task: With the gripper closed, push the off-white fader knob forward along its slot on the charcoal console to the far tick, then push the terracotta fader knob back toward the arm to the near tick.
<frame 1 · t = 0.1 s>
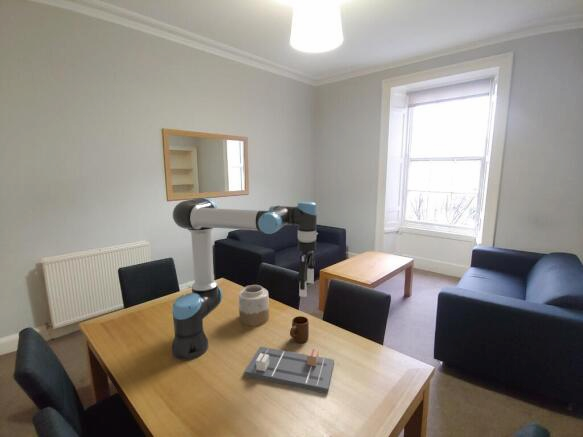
hand: (306, 289, 122), 28 cm above the table, fingers open, 13 cm apart
console: (290, 369, 115), on the table
fader a: (262, 361, 113), point 4 cm above the table, slide at 2.0 cm
vase: (254, 319, 153), on the table
fader b: (312, 357, 116), point 4 cm above the table, slide at 20.0 cm
mug: (297, 341, 133), on the table
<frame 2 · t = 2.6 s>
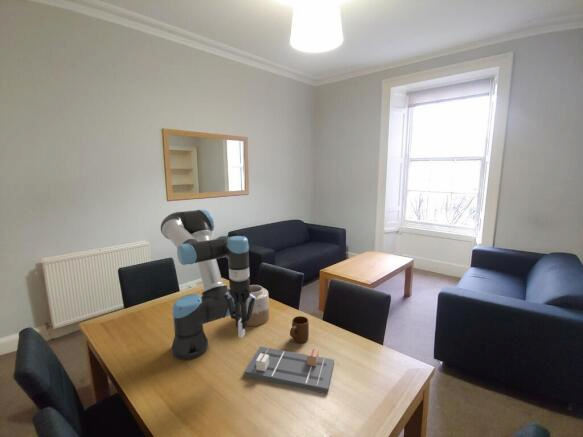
hand: (241, 335, 113), 14 cm above the table, fingers closed
nothing on the table moved.
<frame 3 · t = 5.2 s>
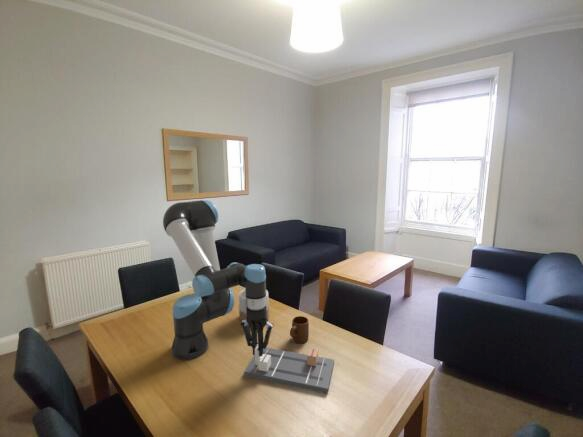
hand: (258, 362, 113), 4 cm above the table, fingers closed
fader a: (264, 362, 113), point 4 cm above the table, slide at 2.8 cm, touching gripper
everything else where it was.
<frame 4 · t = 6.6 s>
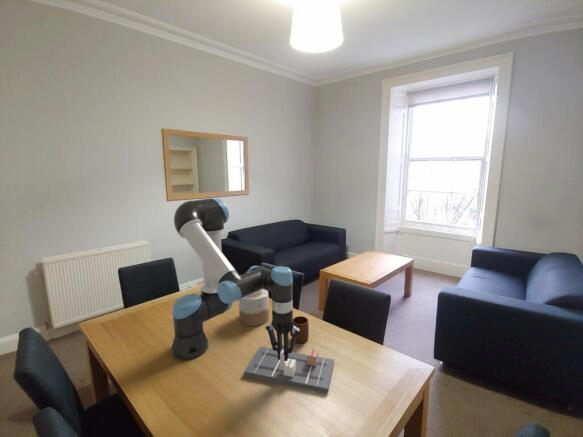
hand: (283, 367, 110), 4 cm above the table, fingers closed
fader a: (289, 367, 110), point 4 cm above the table, slide at 12.9 cm, touching gripper
everything else where it was.
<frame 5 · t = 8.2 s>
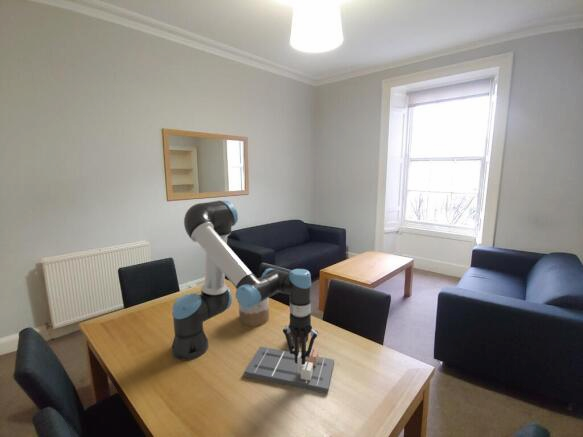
hand: (300, 370, 109), 4 cm above the table, fingers closed
fader a: (306, 370, 108), point 4 cm above the table, slide at 19.5 cm, touching gripper
everything else where it was.
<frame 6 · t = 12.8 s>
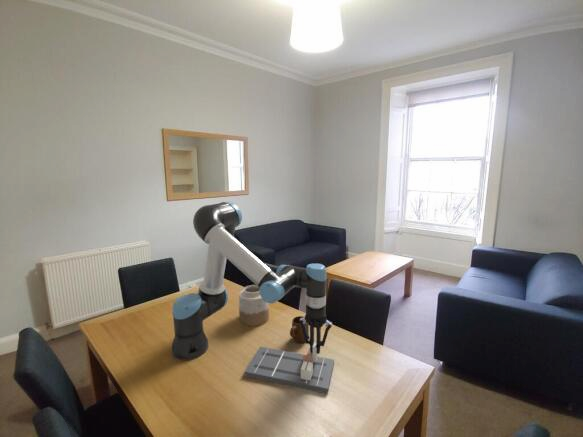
hand: (315, 359, 116), 3 cm above the table, fingers closed
fader a: (306, 370, 108), point 4 cm above the table, slide at 19.5 cm
fader b: (308, 356, 116), point 4 cm above the table, slide at 18.4 cm, touching gripper
everything else where it was.
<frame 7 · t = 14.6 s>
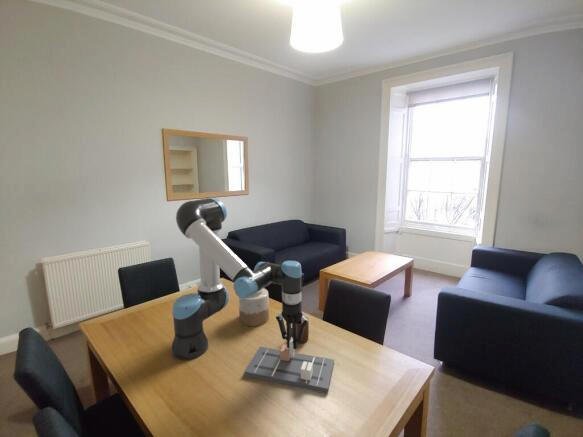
hand: (292, 355, 118), 4 cm above the table, fingers closed
fader b: (286, 352, 119), point 4 cm above the table, slide at 9.0 cm, touching gripper
everything else where it was.
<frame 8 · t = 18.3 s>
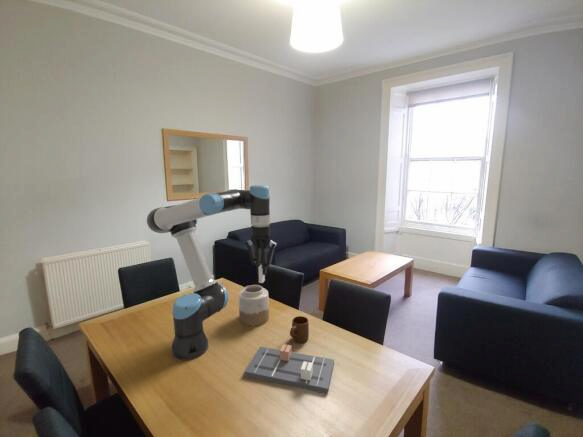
hand: (261, 281, 119), 32 cm above the table, fingers closed
fader b: (285, 352, 119), point 4 cm above the table, slide at 8.9 cm
everything else where it was.
at the end: fader a slide at 19.5 cm; fader b slide at 8.9 cm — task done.
